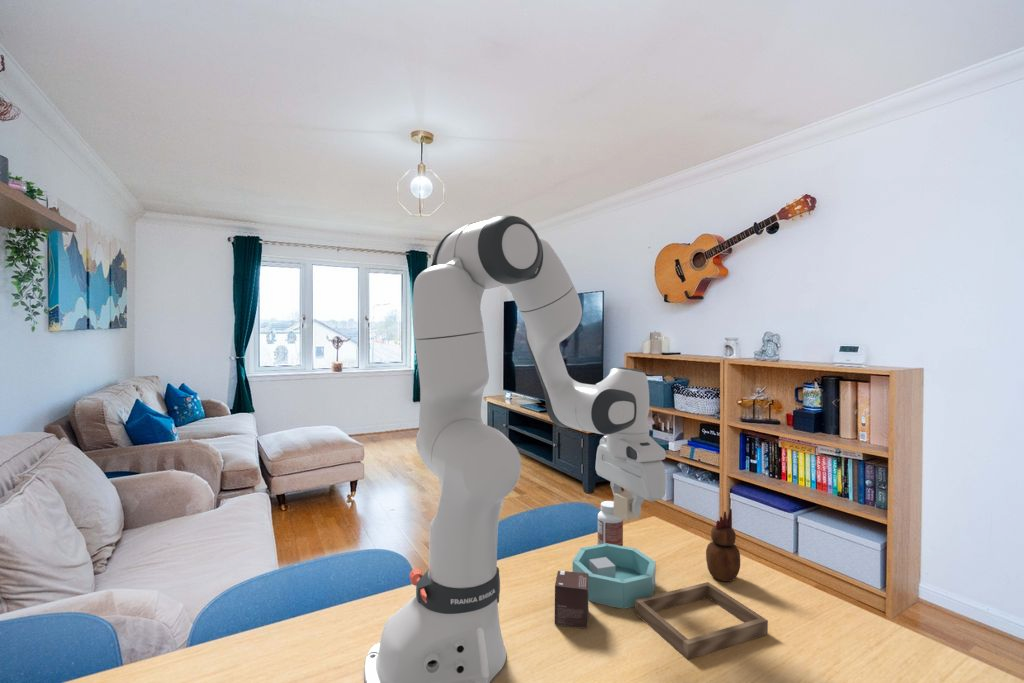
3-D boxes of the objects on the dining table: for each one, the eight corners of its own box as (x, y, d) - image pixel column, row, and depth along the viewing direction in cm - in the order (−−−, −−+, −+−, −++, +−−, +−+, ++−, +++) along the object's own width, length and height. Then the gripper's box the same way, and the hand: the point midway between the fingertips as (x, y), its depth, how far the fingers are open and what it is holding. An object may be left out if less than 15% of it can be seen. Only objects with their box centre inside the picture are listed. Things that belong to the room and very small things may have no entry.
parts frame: (687, 659, 78) (687, 644, 78) (634, 612, 91) (635, 599, 91) (767, 634, 85) (767, 620, 85) (708, 594, 98) (708, 582, 98)
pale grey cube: (597, 590, 97) (598, 568, 97) (588, 580, 101) (589, 559, 101) (615, 587, 99) (615, 565, 98) (605, 577, 102) (605, 557, 102)
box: (587, 630, 86) (587, 589, 86) (553, 625, 87) (554, 585, 87) (588, 610, 92) (589, 572, 92) (557, 606, 93) (557, 569, 93)
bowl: (602, 614, 90) (602, 587, 90) (561, 573, 105) (562, 551, 105) (670, 597, 97) (671, 572, 96) (623, 561, 112) (623, 540, 111)
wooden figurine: (733, 572, 107) (735, 505, 107) (743, 585, 101) (744, 515, 101) (702, 570, 108) (703, 504, 107) (710, 583, 102) (711, 513, 102)
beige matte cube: (627, 520, 99) (627, 499, 99) (613, 514, 103) (613, 493, 103) (640, 517, 101) (640, 496, 101) (627, 511, 105) (627, 490, 105)
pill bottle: (626, 547, 119) (627, 503, 119) (616, 556, 114) (616, 510, 114) (604, 540, 123) (604, 497, 122) (592, 549, 118) (593, 504, 117)
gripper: (589, 434, 110) (588, 494, 110) (645, 456, 91) (644, 528, 91) (612, 432, 112) (611, 491, 113) (671, 453, 93) (670, 523, 94)
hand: (626, 507), depth 102 cm, fingers closed on beige matte cube, 4 cm apart
